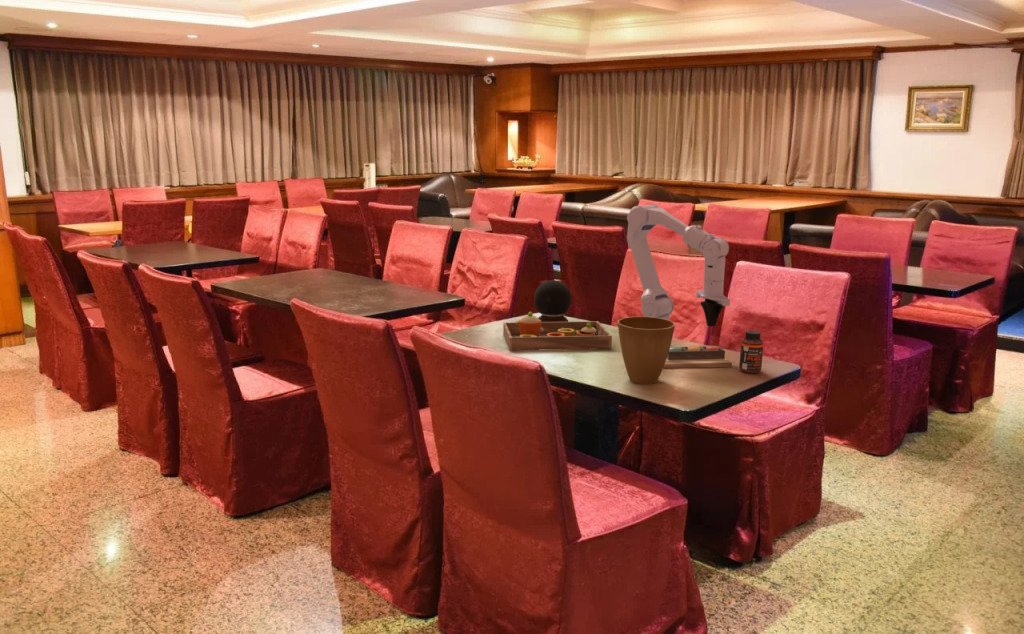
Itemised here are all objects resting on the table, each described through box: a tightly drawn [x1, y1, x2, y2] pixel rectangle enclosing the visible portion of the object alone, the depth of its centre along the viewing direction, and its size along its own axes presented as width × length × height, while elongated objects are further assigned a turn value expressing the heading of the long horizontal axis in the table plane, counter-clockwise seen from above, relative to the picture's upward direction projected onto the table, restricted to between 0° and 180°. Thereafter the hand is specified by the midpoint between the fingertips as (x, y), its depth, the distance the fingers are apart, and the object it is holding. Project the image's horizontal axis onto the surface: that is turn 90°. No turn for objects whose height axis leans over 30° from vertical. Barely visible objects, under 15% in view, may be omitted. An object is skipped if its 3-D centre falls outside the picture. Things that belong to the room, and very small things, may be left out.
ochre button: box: [687, 345, 701, 351], centre depth 244 cm, size 4×4×2 cm
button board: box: [663, 345, 733, 369], centre depth 244 cm, size 14×20×4 cm
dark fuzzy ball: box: [533, 279, 573, 322], centre depth 293 cm, size 13×13×15 cm
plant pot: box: [617, 315, 676, 385], centre depth 223 cm, size 15×15×16 cm
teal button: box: [669, 346, 682, 351], centre depth 243 cm, size 4×4×2 cm
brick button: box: [706, 345, 720, 351], centre depth 245 cm, size 4×4×2 cm
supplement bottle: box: [739, 329, 764, 374], centre depth 233 cm, size 6×6×11 cm
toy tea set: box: [516, 311, 597, 337], centre depth 264 cm, size 26×16×10 cm, turn 96°
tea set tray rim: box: [502, 320, 613, 352], centre depth 267 cm, size 22×32×4 cm
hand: (711, 325), depth 247 cm, fingers closed
